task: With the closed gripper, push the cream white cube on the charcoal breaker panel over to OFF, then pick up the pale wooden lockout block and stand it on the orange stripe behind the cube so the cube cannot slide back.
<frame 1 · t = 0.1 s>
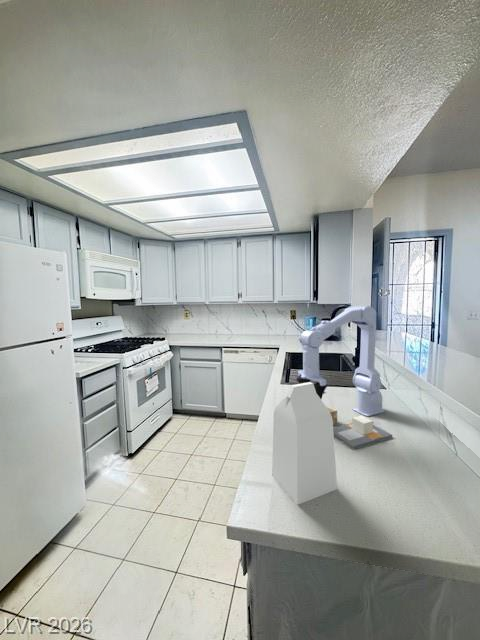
hand: (311, 399, 100), 10 cm above the worktop, tool pointing down, fingers open, 7 cm apart
cream white cube: (362, 425, 93), point 3 cm above the worktop, slide at 0.0 cm
breaker panel: (359, 434, 92), on the worktop
milk: (303, 482, 70), on the worktop
lockout block: (329, 422, 103), on the worktop
teacup and saucer: (316, 395, 133), on the worktop
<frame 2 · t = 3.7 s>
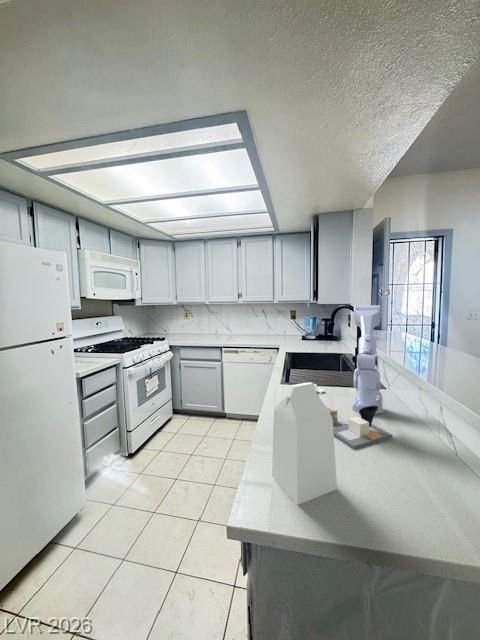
hand: (367, 426, 94), 2 cm above the worktop, tool pointing down, fingers closed
cream white cube: (358, 425, 92), point 3 cm above the worktop, slide at 1.6 cm, touching gripper
everything else where it was.
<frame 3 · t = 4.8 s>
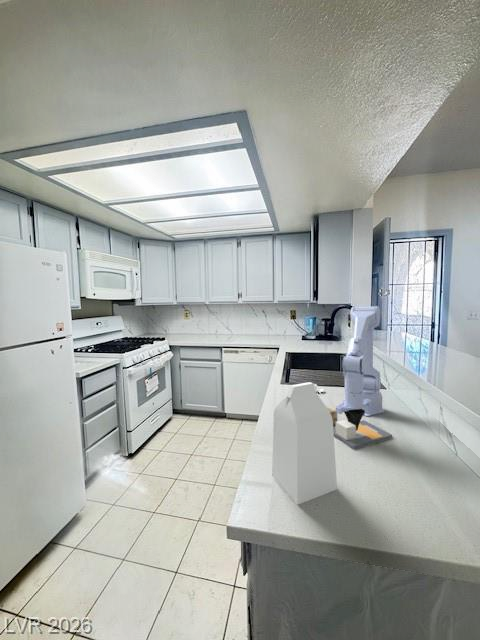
hand: (353, 429, 91), 2 cm above the worktop, tool pointing down, fingers closed
cream white cube: (345, 429, 90), point 3 cm above the worktop, slide at 7.5 cm, touching gripper
everything else where it was.
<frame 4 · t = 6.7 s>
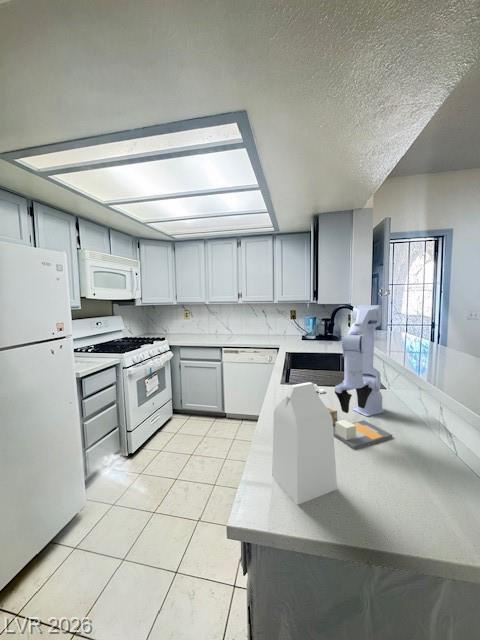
hand: (353, 409, 91), 9 cm above the worktop, tool pointing down, fingers open, 7 cm apart
cream white cube: (345, 429, 90), point 3 cm above the worktop, slide at 7.5 cm
everything else where it was.
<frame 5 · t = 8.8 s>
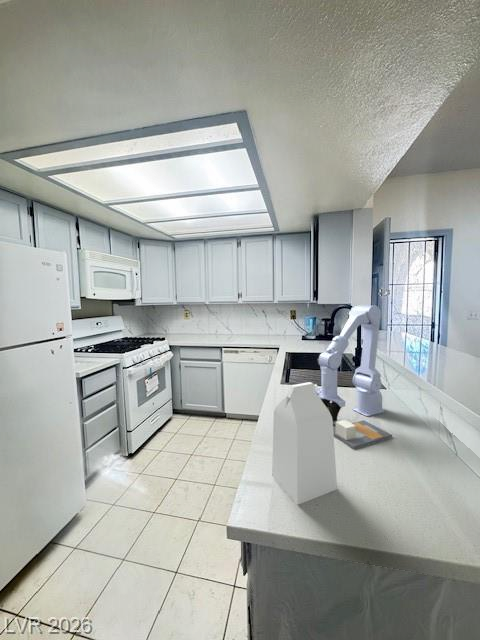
hand: (329, 418, 102), 1 cm above the worktop, tool pointing down, fingers closed on lockout block, 4 cm apart
lockout block: (329, 422, 103), on the worktop, touching gripper
everything else where it was.
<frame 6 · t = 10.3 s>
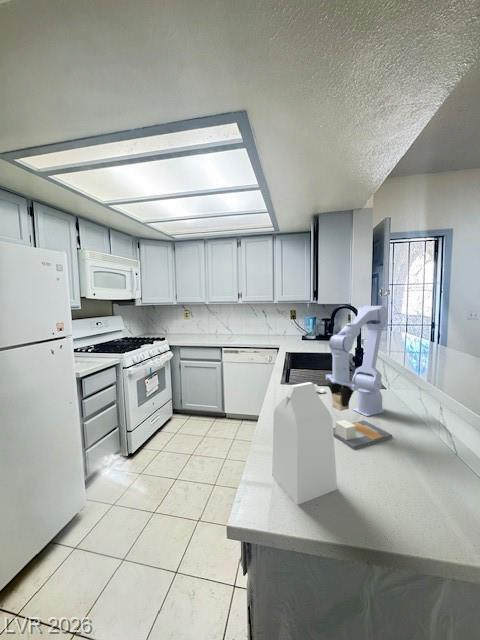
hand: (340, 403, 99), 8 cm above the worktop, tool pointing down, fingers closed on lockout block, 4 cm apart
lockout block: (340, 407, 99), point 7 cm above the worktop, touching gripper
everything else where it was.
when the fingers open (4 cm above the worktop, at t = 12.1 s): lockout block drops 1 cm, resting on breaker panel.
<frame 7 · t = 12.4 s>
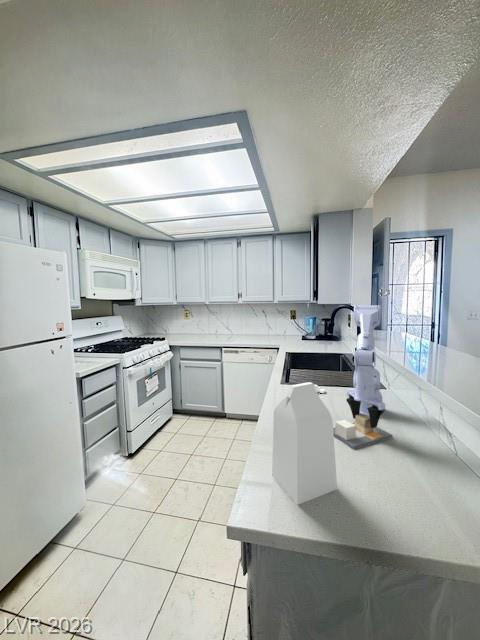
hand: (364, 422, 93), 4 cm above the worktop, tool pointing down, fingers open, 7 cm apart
lockout block: (364, 430, 93), point 1 cm above the worktop, touching breaker panel
everything else where it was.
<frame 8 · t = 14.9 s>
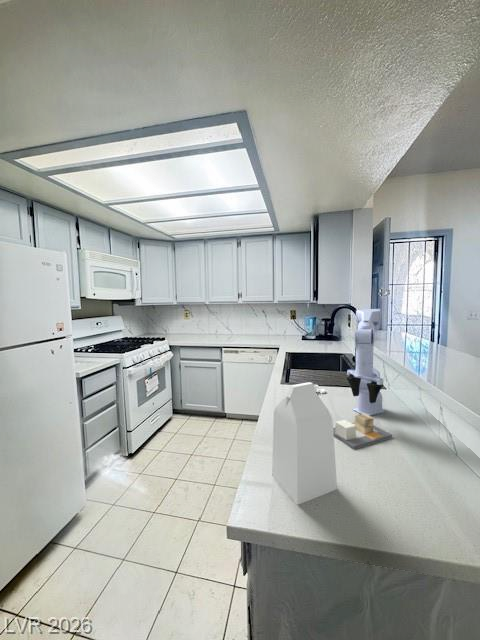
hand: (364, 399, 97), 10 cm above the worktop, tool pointing down, fingers open, 7 cm apart
at the end: cream white cube slide at 7.5 cm; lockout block 0.1 cm from the target spot, point 1.0 cm above the worktop; lockout block tilted 0° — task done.
